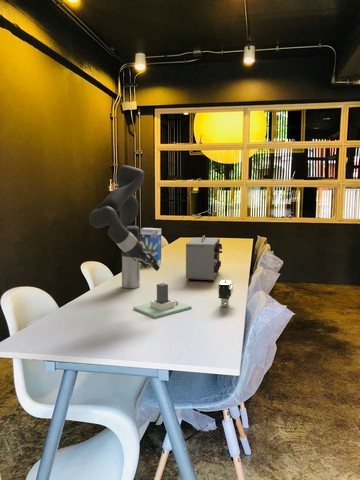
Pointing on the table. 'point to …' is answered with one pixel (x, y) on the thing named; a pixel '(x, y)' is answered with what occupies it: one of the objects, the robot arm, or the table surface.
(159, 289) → the grey rectangular block
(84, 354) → the table surface
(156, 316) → the board
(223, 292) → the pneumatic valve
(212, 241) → the vintage electronic device
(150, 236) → the string lights box
